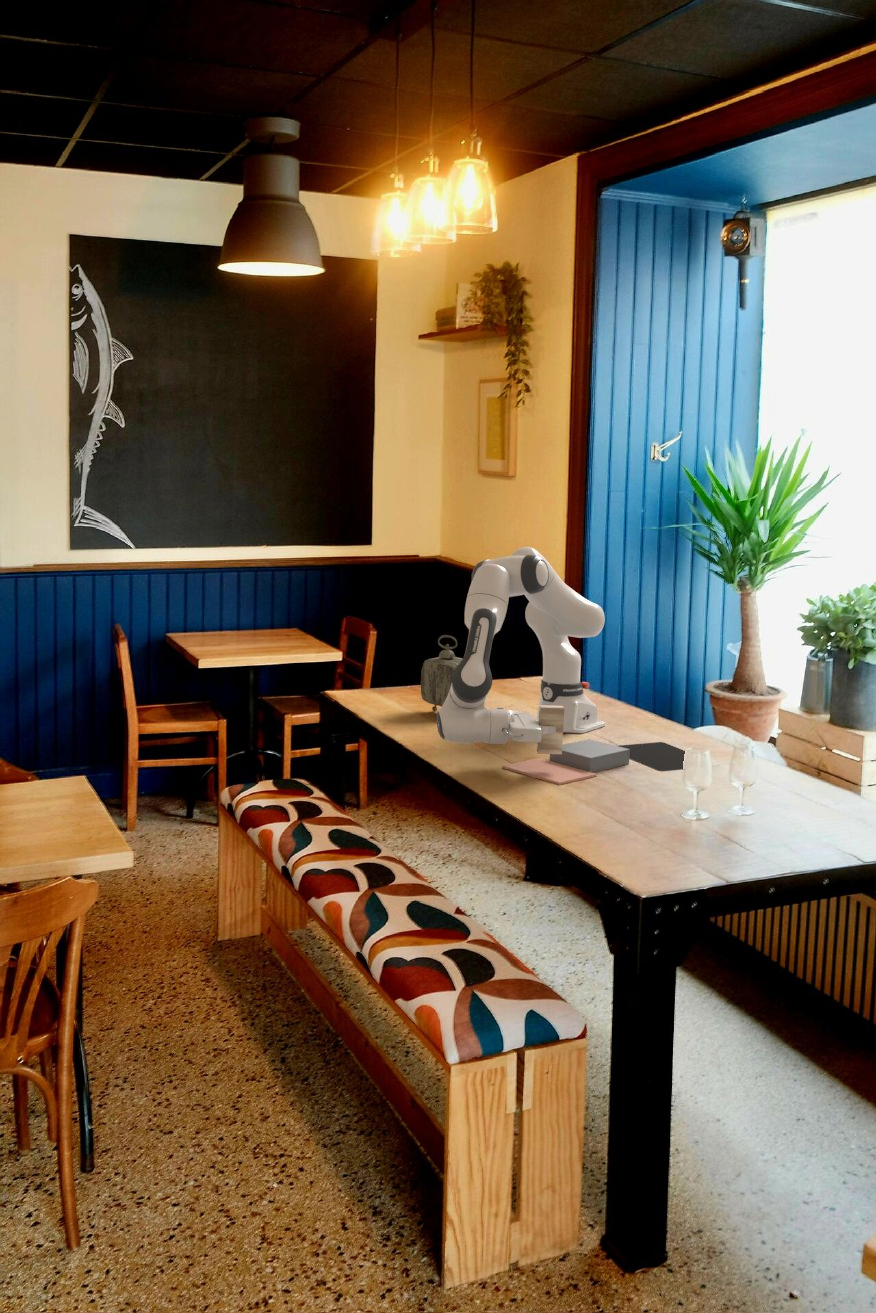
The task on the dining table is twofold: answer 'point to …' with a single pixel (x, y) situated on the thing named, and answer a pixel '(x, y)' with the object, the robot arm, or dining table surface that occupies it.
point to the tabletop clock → (438, 675)
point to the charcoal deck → (591, 755)
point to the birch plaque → (553, 718)
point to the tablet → (657, 755)
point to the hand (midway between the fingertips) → (554, 727)
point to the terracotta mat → (549, 771)
